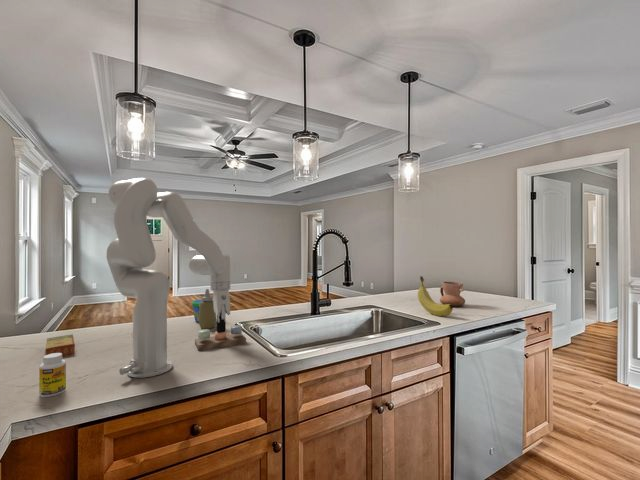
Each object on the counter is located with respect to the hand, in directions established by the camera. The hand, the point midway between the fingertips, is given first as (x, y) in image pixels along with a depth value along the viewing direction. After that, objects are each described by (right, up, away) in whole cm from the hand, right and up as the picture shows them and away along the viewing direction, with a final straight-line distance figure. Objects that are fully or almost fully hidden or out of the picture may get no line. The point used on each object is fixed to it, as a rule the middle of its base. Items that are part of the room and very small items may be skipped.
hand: (221, 331), depth 129 cm
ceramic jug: (+121, -4, +72) cm, 141 cm away
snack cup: (-20, -5, +36) cm, 42 cm away
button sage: (-6, -1, -3) cm, 6 cm away
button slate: (+5, -1, +3) cm, 6 cm away
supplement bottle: (-33, -5, -41) cm, 53 cm away
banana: (+102, -4, +48) cm, 112 cm away
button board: (0, -5, 0) cm, 5 cm away
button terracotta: (0, -2, 0) cm, 2 cm away
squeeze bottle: (-14, -5, +24) cm, 28 cm away
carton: (-58, -6, -8) cm, 58 cm away
